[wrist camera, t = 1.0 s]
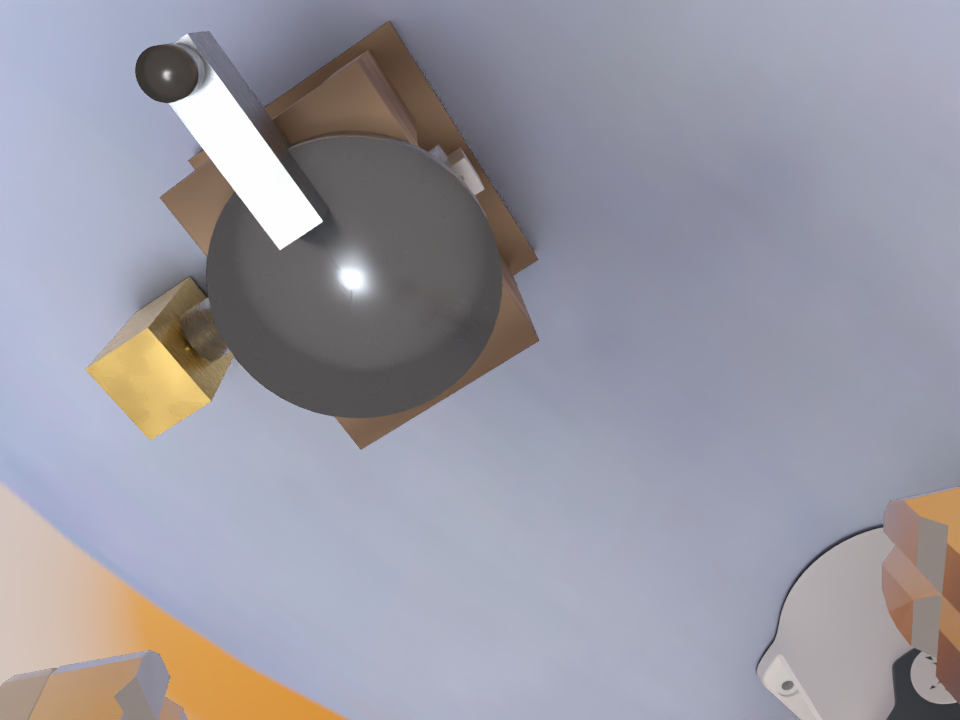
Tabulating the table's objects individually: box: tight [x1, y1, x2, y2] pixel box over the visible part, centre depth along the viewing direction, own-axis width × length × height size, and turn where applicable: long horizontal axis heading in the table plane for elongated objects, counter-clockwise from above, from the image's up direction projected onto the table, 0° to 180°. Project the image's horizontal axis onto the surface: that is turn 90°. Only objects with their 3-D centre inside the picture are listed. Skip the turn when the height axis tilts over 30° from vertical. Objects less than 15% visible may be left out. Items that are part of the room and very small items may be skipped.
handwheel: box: [135, 31, 502, 418], centre depth 30 cm, size 16×11×6 cm
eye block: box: [160, 21, 539, 449], centre depth 39 cm, size 14×12×12 cm
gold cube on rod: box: [85, 144, 484, 440], centre depth 42 cm, size 4×20×8 cm, turn 122°
